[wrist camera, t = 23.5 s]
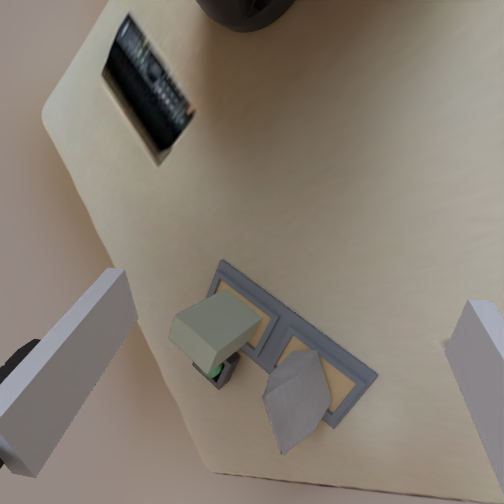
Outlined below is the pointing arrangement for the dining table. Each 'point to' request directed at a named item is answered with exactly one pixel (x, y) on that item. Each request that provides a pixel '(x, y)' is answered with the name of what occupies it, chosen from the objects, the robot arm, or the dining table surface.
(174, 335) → the carton
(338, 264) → the dining table surface
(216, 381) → the button housing
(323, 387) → the tea bag
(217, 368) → the button
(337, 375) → the grey flat frame
